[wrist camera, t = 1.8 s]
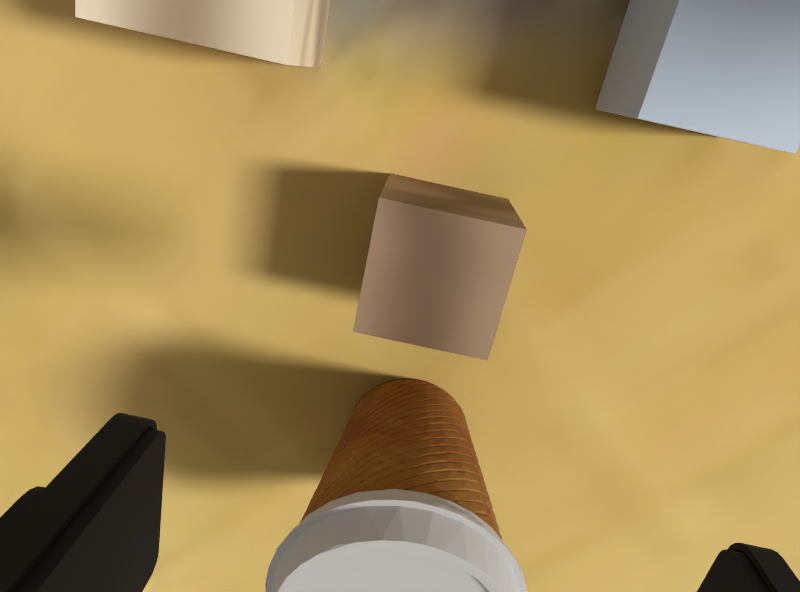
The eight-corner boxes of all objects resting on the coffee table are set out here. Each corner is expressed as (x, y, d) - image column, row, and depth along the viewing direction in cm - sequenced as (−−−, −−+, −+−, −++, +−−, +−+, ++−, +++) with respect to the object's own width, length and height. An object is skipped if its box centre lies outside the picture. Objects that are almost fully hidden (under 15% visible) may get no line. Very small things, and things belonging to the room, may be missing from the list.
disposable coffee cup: (338, 504, 32) (286, 729, 21) (306, 359, 29) (225, 537, 18) (503, 493, 31) (540, 723, 20) (490, 342, 28) (526, 519, 17)
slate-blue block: (776, -5, 22) (881, -30, 17) (718, 137, 24) (795, 153, 19) (641, -36, 22) (704, -72, 17) (594, 109, 24) (637, 118, 19)
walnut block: (508, 198, 25) (526, 229, 20) (477, 307, 27) (487, 360, 22) (390, 173, 25) (378, 197, 20) (368, 283, 27) (352, 331, 22)
